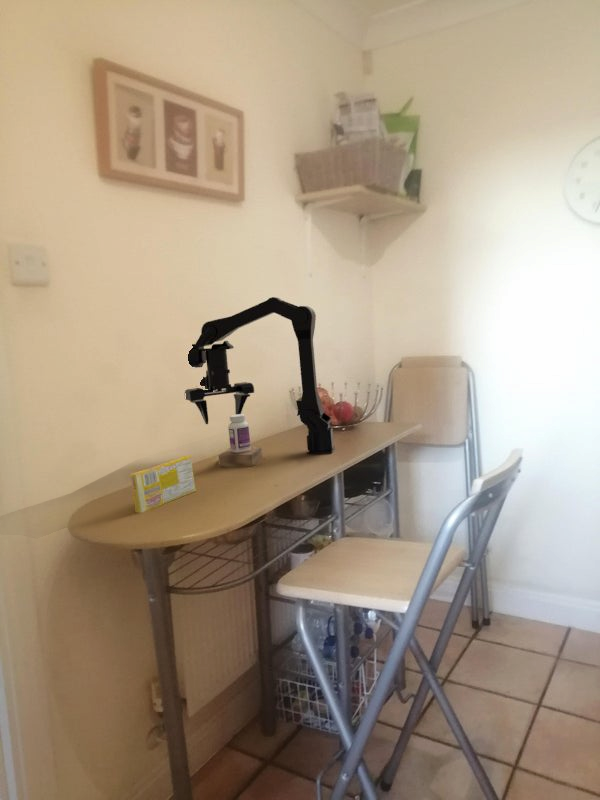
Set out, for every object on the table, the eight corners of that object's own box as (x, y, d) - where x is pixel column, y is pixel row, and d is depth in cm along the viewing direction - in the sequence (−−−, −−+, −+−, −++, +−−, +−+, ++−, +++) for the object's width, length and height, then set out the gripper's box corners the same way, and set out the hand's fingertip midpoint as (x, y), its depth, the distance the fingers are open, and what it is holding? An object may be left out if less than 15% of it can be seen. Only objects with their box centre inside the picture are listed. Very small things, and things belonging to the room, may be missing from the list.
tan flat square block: (262, 457, 167) (261, 446, 167) (252, 465, 158) (251, 454, 158) (230, 458, 169) (229, 447, 169) (219, 466, 160) (218, 455, 160)
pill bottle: (252, 448, 166) (249, 413, 164) (248, 452, 160) (245, 416, 159) (232, 449, 166) (229, 414, 165) (228, 453, 161) (225, 417, 160)
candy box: (189, 491, 139) (185, 455, 138) (196, 491, 138) (192, 455, 137) (134, 512, 126) (129, 473, 125) (141, 513, 125) (136, 474, 124)
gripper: (237, 362, 182) (242, 414, 184) (176, 368, 174) (181, 423, 176) (252, 363, 172) (257, 418, 174) (188, 370, 164) (194, 428, 166)
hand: (222, 421), depth 173 cm, fingers open, 9 cm apart
